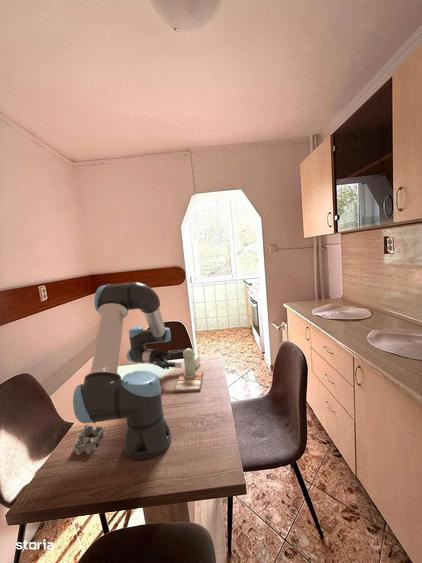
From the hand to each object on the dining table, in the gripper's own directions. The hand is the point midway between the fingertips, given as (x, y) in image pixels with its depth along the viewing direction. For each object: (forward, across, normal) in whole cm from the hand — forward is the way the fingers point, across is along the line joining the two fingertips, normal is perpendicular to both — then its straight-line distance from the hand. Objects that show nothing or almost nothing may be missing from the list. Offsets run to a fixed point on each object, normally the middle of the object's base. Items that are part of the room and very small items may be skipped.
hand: (188, 359), depth 131 cm
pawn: (+1, 0, -8) cm, 8 cm away
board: (+2, +5, -10) cm, 11 cm away
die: (-4, -14, -10) cm, 17 cm away
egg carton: (-11, +52, -10) cm, 54 cm away
